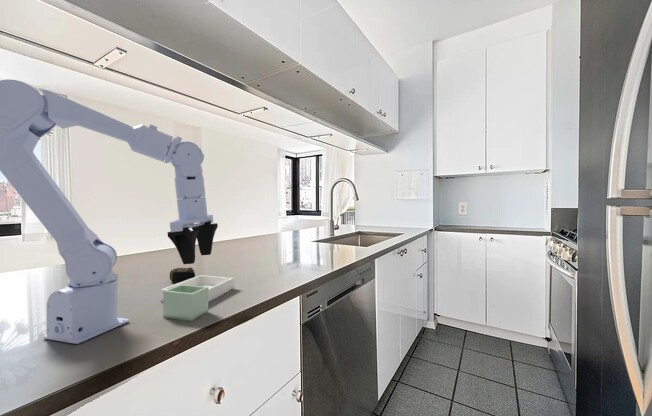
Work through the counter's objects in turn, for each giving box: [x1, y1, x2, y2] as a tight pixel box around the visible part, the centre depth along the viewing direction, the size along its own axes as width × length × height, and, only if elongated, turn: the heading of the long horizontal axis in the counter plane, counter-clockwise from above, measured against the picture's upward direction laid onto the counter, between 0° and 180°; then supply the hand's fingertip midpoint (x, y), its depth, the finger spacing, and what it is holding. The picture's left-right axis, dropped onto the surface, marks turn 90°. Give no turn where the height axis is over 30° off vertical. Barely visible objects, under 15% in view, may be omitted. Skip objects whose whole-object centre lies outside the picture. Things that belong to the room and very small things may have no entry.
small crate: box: [162, 285, 209, 322], centre depth 59 cm, size 5×7×6 cm
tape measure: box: [169, 267, 196, 283], centre depth 85 cm, size 7×7×4 cm
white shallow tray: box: [160, 274, 235, 303], centre depth 72 cm, size 14×11×3 cm
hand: (198, 258), depth 62 cm, fingers open, 7 cm apart
